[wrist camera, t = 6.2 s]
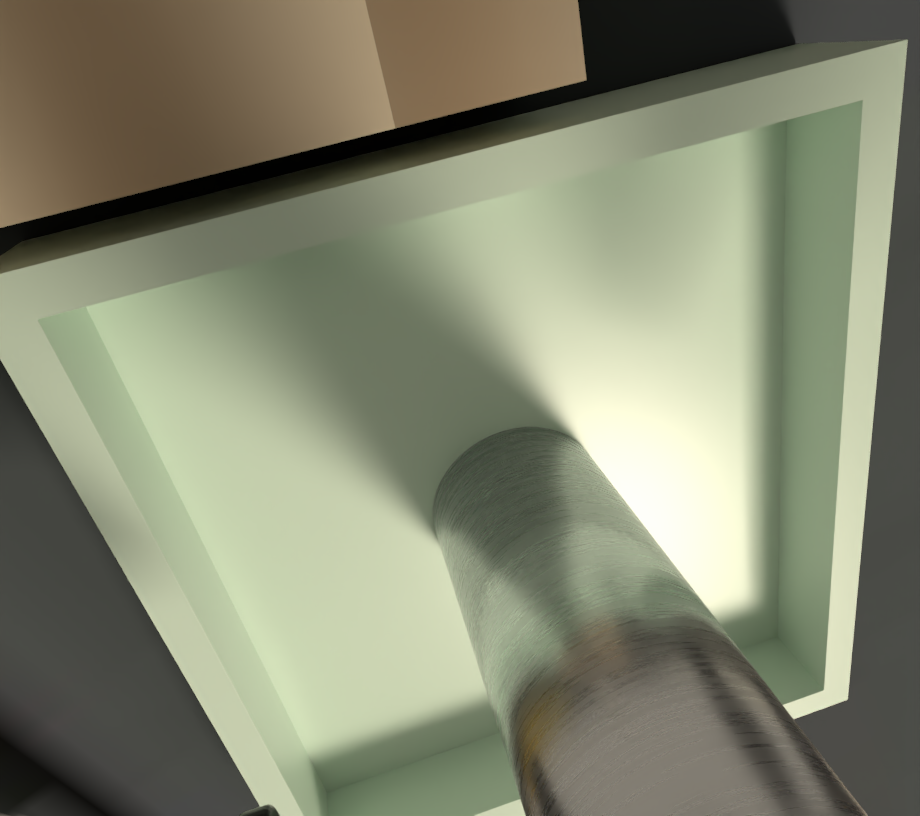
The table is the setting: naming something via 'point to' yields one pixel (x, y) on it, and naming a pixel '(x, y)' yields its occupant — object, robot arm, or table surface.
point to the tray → (477, 398)
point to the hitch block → (245, 83)
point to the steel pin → (609, 651)
